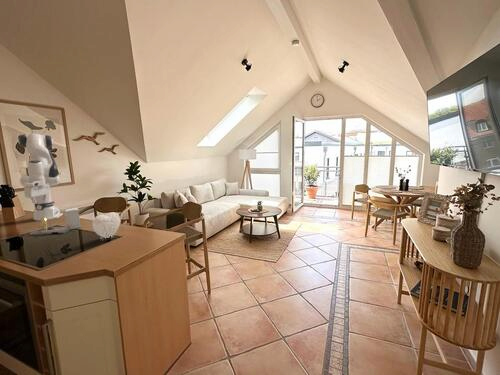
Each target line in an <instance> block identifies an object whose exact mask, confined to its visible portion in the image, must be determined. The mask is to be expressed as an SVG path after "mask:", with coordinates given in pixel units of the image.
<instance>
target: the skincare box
mask: <svg viewBox="0 0 500 375" xmlns="http://www.w3.org/2000/svg"><path fill="white" fill-rule="evenodd" d="M64 214H65V220H66V227H69V228H70V229H69V231H70V230H75V229H81V219H80V212H79V208H78V207H74V208H70V209H64Z"/></svg>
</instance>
